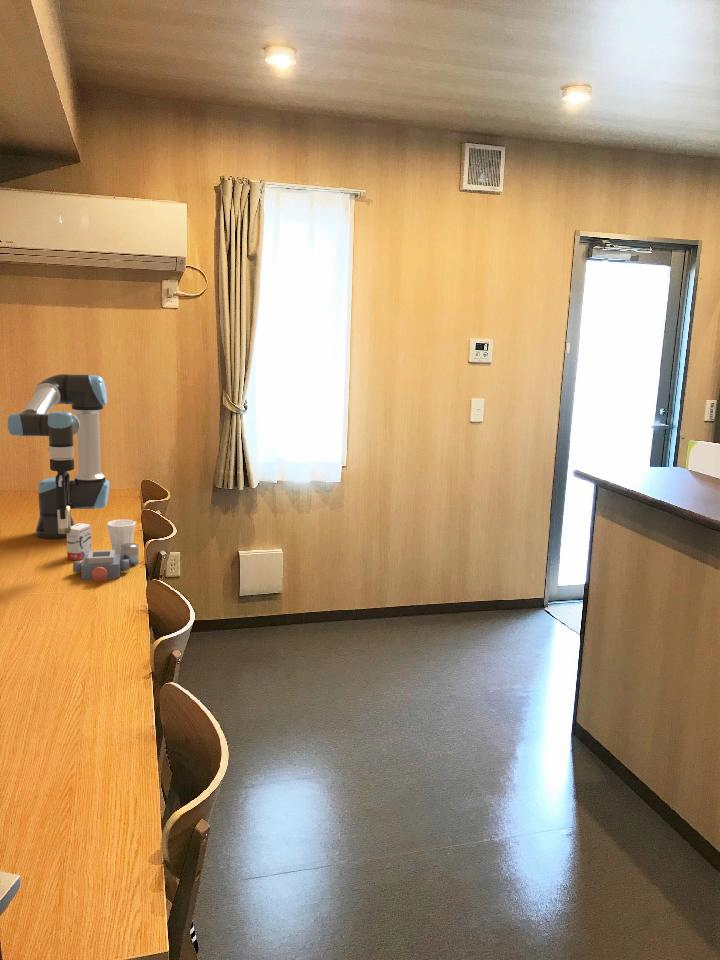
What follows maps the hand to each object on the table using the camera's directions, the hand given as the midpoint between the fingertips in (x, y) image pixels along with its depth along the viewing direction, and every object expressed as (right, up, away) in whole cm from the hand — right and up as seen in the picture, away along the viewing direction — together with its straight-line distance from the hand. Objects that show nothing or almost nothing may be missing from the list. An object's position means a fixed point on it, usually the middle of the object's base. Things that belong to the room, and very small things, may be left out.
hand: (64, 525), depth 240 cm
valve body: (+12, -17, +3) cm, 21 cm away
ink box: (-3, -13, +21) cm, 25 cm away
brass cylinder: (0, -2, 0) cm, 2 cm away
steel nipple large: (+17, -15, +15) cm, 27 cm away
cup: (+12, -13, +23) cm, 29 cm away
